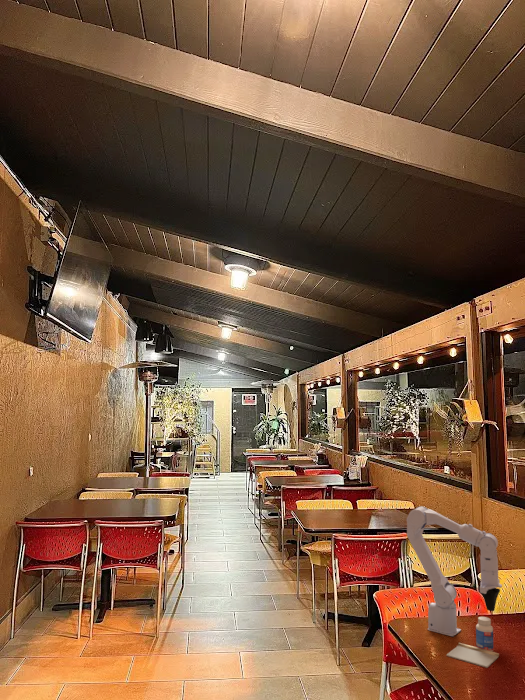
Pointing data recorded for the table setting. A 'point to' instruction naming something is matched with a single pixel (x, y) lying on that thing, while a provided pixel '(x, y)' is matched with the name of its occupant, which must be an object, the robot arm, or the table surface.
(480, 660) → the mat
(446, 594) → the robot arm
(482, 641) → the pill bottle
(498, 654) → the stop strip
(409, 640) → the table surface
